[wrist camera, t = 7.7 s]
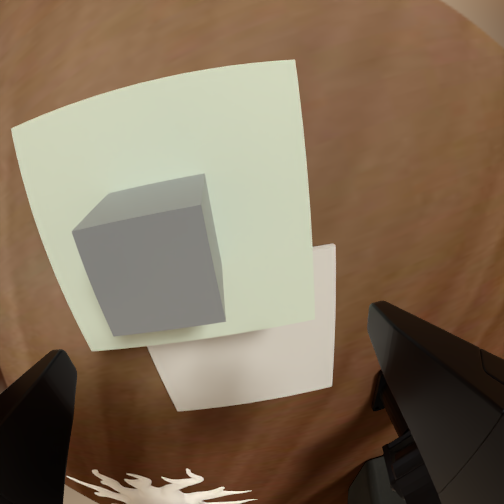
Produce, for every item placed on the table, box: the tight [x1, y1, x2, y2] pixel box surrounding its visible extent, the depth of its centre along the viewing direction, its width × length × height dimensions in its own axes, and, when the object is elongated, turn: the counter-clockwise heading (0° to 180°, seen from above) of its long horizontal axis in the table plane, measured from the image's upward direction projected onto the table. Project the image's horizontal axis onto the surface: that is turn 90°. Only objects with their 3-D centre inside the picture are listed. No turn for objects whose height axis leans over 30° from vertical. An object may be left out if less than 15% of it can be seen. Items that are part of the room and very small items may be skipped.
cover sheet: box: [11, 60, 315, 351], centre depth 12 cm, size 12×12×5 cm
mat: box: [147, 243, 336, 411], centre depth 24 cm, size 14×14×1 cm
